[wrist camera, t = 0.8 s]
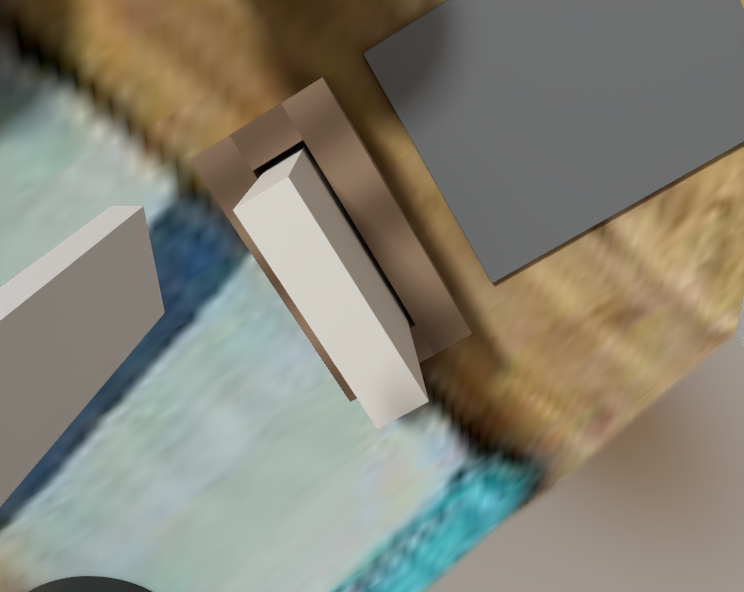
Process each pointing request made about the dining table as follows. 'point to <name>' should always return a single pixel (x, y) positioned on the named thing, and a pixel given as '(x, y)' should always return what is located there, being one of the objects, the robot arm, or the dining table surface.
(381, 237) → the slot box
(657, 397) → the dining table surface
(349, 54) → the dining table surface
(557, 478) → the dining table surface
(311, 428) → the dining table surface
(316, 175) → the rectangular insert block
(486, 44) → the rubber mat
